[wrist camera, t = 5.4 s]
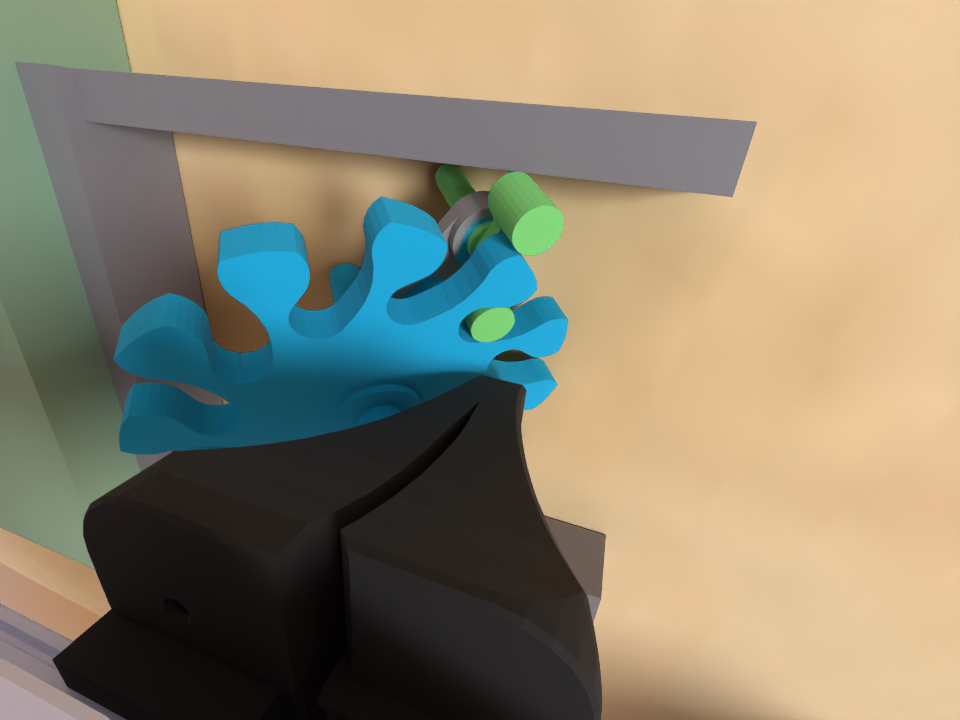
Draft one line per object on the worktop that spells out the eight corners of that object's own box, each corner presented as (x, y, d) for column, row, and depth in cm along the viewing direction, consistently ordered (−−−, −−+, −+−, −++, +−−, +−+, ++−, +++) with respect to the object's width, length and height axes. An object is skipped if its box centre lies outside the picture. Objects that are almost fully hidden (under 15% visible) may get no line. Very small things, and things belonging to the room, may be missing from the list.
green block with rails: (579, 619, 17) (555, 824, 12) (42, 427, 24) (-125, 501, 18) (790, -69, 8) (1072, -490, 3) (-154, -53, 15) (-573, -170, 10)
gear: (409, 537, 15) (15, 534, 8) (377, 405, 19) (81, 324, 12) (676, 336, 11) (357, -1, 4) (572, 217, 15) (302, -75, 8)
